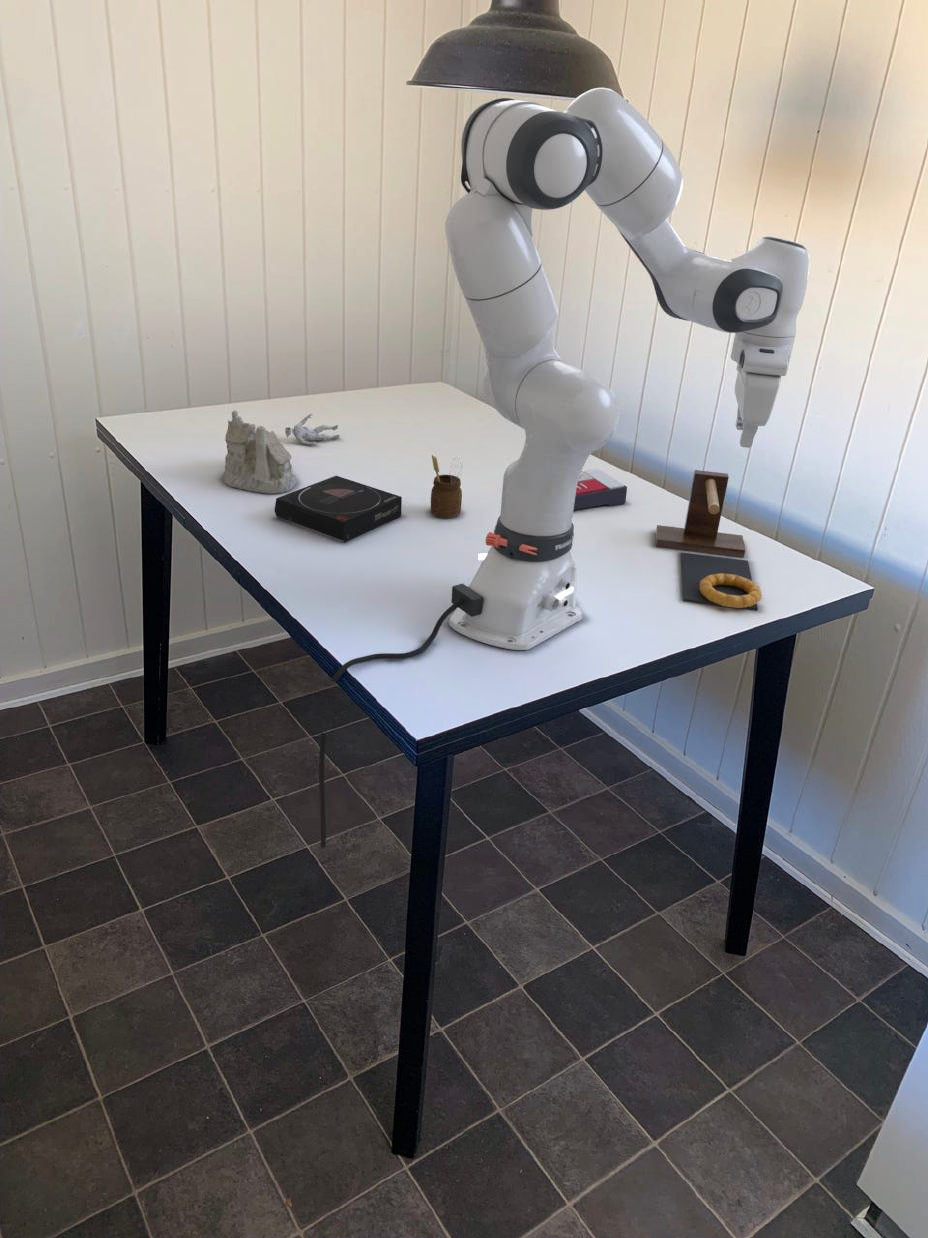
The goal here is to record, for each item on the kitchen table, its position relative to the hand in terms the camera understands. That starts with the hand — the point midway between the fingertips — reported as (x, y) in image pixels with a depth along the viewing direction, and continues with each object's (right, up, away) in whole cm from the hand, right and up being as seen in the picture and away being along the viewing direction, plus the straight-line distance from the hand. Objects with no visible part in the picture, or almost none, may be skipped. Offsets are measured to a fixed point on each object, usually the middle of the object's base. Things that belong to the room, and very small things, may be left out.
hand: (742, 437), depth 154 cm
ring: (-1, -24, +5) cm, 25 cm away
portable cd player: (-69, -10, +26) cm, 74 cm away
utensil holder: (-49, -9, +31) cm, 58 cm away
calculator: (-21, -5, +42) cm, 47 cm away
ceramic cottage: (-86, -1, +42) cm, 95 cm away
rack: (-2, -17, +21) cm, 27 cm away
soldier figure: (-79, +11, +64) cm, 103 cm away
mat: (-1, -23, +11) cm, 25 cm away
